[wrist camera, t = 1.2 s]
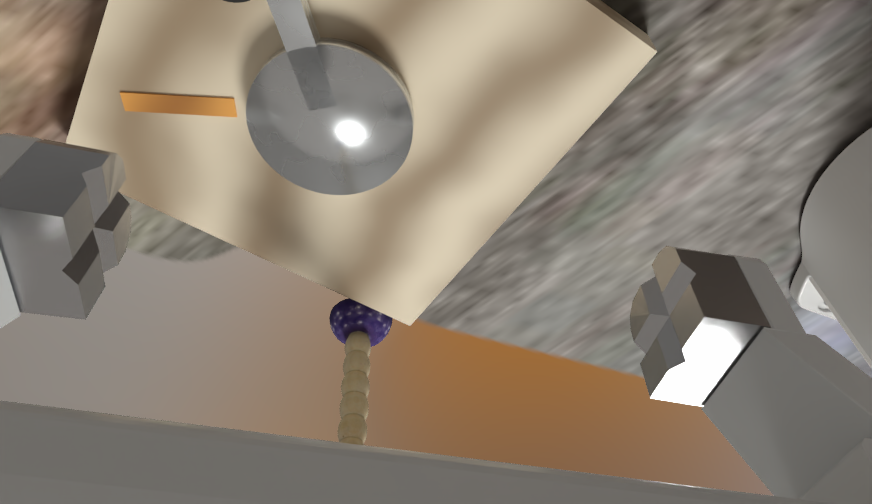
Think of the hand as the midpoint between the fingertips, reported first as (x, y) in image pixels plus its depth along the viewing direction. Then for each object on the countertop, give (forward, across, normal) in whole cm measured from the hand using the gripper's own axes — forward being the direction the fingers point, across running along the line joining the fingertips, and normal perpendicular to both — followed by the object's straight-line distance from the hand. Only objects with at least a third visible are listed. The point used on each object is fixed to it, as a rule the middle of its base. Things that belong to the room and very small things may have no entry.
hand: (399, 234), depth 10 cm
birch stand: (+23, +3, +10) cm, 26 cm away
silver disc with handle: (+21, +4, +7) cm, 23 cm away
